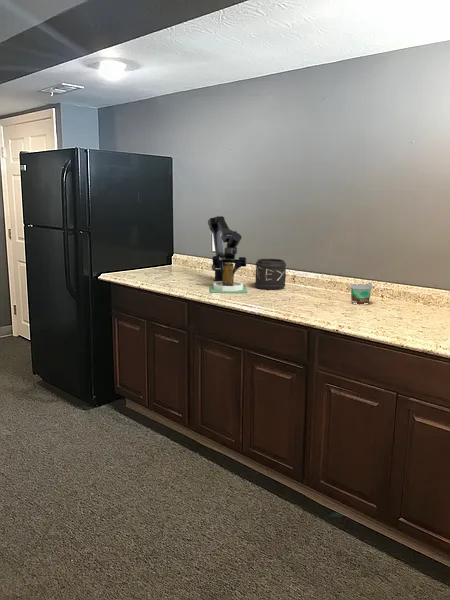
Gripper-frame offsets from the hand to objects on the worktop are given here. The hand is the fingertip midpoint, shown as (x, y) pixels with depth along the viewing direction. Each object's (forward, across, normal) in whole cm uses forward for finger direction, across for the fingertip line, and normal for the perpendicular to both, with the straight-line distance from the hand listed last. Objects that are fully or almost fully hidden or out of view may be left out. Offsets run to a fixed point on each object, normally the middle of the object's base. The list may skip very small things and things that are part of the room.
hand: (227, 273), depth 285 cm
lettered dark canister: (-1, +23, +14) cm, 27 cm away
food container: (+23, +70, -10) cm, 75 cm away
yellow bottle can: (+4, 0, +6) cm, 7 cm away
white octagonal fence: (+6, 0, +7) cm, 9 cm away
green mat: (+6, 0, +7) cm, 9 cm away
